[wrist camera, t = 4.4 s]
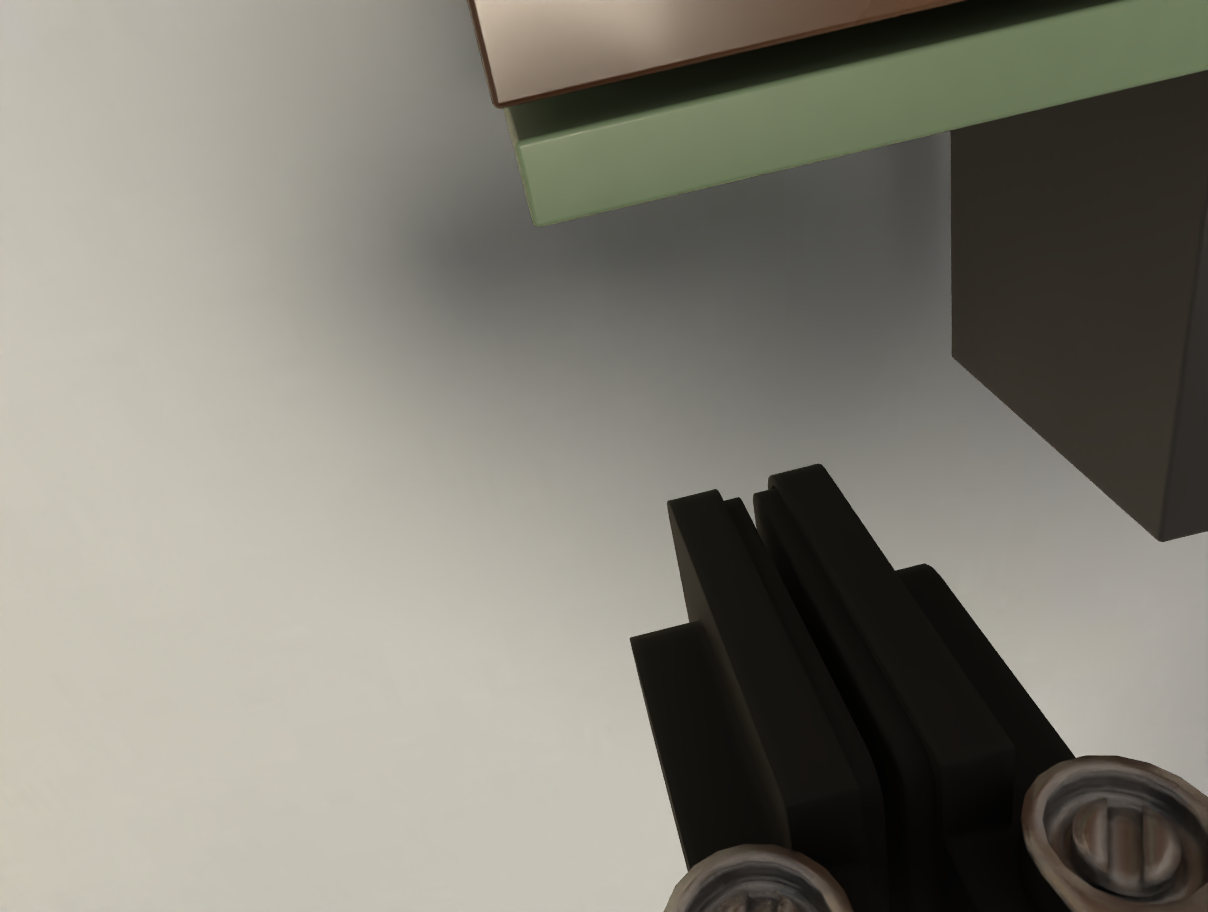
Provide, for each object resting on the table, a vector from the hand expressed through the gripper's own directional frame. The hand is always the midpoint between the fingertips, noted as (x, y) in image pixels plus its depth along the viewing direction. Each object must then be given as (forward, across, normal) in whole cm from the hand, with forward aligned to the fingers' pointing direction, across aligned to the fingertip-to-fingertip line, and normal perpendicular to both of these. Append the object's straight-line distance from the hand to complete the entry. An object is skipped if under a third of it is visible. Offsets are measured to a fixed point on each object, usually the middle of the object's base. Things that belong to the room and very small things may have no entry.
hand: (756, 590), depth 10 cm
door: (+9, -3, -2) cm, 10 cm away
